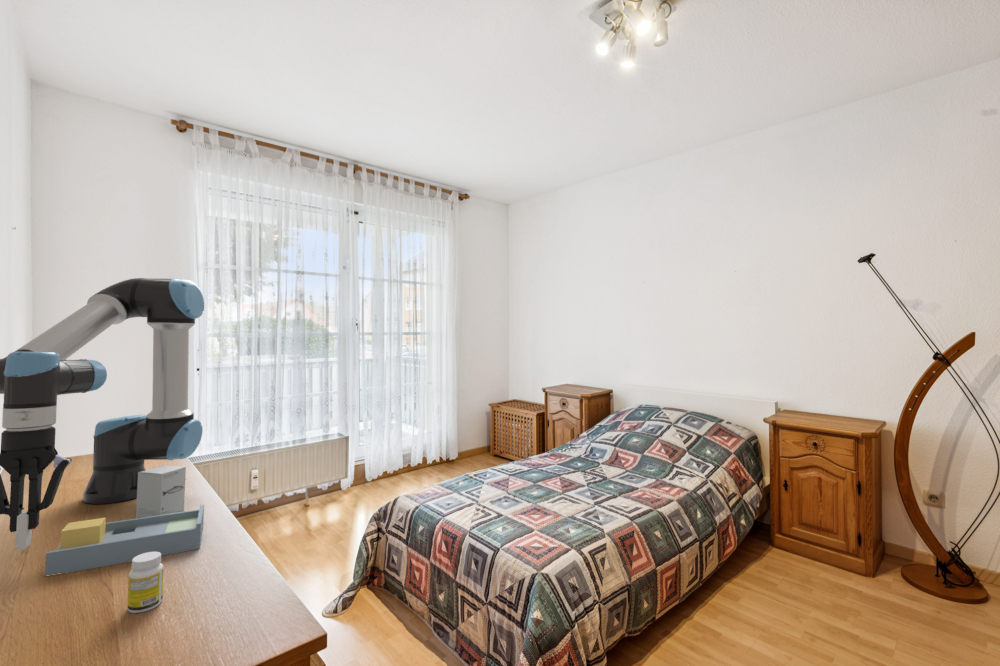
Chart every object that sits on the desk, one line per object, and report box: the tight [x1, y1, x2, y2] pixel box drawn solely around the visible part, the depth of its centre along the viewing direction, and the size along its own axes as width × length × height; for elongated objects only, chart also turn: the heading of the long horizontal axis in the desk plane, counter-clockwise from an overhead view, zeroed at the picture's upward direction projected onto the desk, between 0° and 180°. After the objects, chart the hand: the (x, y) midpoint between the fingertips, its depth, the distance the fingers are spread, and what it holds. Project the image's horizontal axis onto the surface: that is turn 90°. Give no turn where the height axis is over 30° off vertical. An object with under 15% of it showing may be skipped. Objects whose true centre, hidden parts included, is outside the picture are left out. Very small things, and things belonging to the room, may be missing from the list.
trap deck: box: [44, 504, 205, 577], centre depth 98 cm, size 14×25×6 cm, turn 121°
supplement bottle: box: [127, 552, 164, 614], centre depth 77 cm, size 5×5×8 cm
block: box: [59, 517, 107, 550], centre depth 94 cm, size 5×6×4 cm
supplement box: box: [135, 465, 187, 519], centre depth 116 cm, size 7×7×13 cm
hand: (23, 546), depth 89 cm, fingers closed
